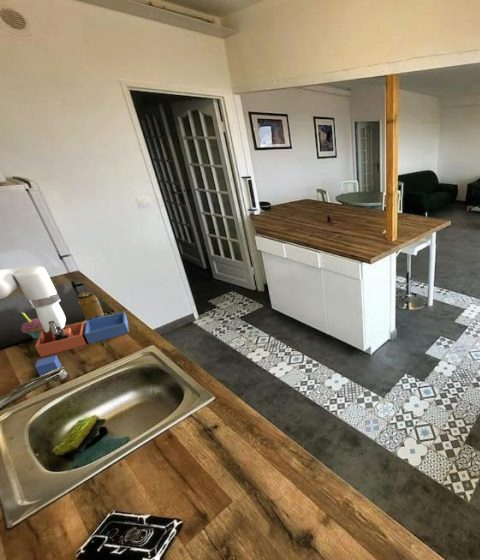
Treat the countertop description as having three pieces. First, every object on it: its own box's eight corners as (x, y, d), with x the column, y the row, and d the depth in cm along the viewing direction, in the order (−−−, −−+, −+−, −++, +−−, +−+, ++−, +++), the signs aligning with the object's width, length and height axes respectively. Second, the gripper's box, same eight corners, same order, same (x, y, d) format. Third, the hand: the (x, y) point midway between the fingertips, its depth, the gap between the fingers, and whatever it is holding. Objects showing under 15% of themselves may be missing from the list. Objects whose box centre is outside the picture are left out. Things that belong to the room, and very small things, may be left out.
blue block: (41, 378, 102) (34, 367, 100) (43, 370, 105) (37, 360, 104) (60, 372, 105) (54, 361, 103) (61, 365, 108) (56, 355, 106)
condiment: (91, 315, 138) (81, 291, 133) (113, 313, 140) (104, 289, 135) (81, 323, 132) (69, 299, 127) (104, 321, 134) (94, 297, 129)
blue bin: (88, 343, 119) (84, 334, 117) (90, 329, 128) (86, 320, 126) (128, 332, 126) (125, 323, 125) (127, 320, 135) (124, 311, 133)
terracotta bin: (40, 357, 112) (35, 346, 110) (46, 341, 120) (40, 331, 119) (86, 344, 119) (81, 334, 117) (88, 330, 127) (83, 321, 126)
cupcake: (34, 343, 119) (19, 316, 114) (21, 338, 122) (6, 312, 117) (62, 331, 127) (49, 305, 122) (49, 327, 129) (36, 302, 124)
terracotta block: (57, 346, 117) (52, 336, 115) (58, 341, 120) (53, 331, 118) (73, 342, 119) (68, 332, 117) (74, 337, 122) (70, 327, 121)
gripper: (33, 294, 116) (55, 335, 123) (24, 312, 104) (49, 356, 111) (61, 289, 120) (80, 328, 128) (55, 305, 108) (77, 348, 116)
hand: (65, 341), depth 119 cm, fingers closed on terracotta block, 4 cm apart
